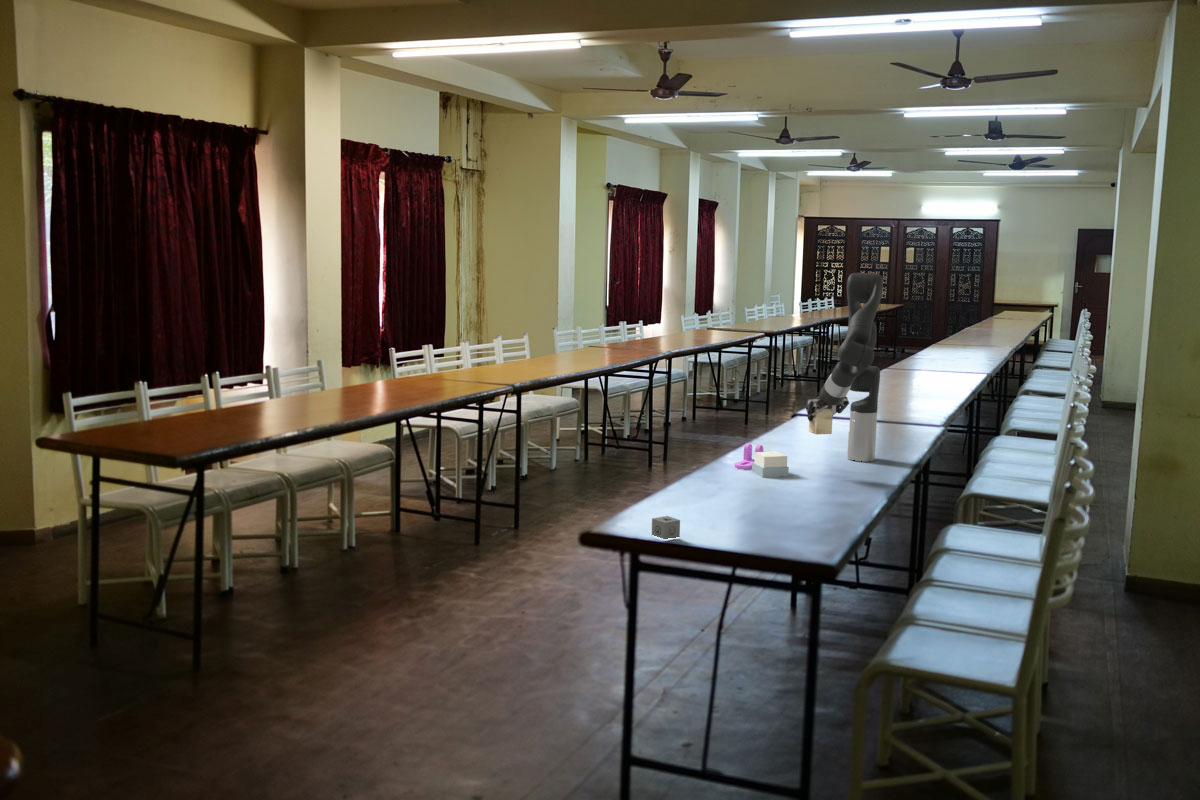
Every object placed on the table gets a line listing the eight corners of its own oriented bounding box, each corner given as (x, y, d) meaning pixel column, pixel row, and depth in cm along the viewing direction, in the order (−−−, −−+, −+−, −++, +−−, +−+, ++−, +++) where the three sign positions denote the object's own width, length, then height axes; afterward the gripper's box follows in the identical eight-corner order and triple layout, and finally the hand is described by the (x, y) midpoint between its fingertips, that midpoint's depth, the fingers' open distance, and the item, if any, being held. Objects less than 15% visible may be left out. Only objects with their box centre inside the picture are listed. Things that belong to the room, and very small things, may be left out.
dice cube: (664, 542, 261) (664, 522, 261) (651, 537, 265) (652, 518, 265) (679, 539, 264) (680, 520, 263) (666, 534, 268) (667, 515, 267)
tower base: (751, 472, 347) (752, 462, 347) (777, 471, 349) (777, 461, 349) (762, 478, 338) (762, 468, 338) (788, 477, 341) (788, 467, 340)
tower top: (754, 462, 346) (754, 452, 346) (776, 461, 348) (777, 451, 348) (764, 467, 339) (764, 456, 338) (786, 466, 341) (787, 456, 340)
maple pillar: (808, 431, 342) (810, 401, 341) (824, 430, 344) (825, 400, 342) (816, 434, 337) (817, 403, 336) (831, 433, 338) (833, 403, 337)
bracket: (747, 462, 362) (748, 442, 361) (762, 464, 359) (763, 444, 358) (731, 468, 352) (732, 448, 351) (746, 470, 349) (747, 450, 348)
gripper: (853, 377, 332) (835, 409, 345) (812, 378, 329) (794, 410, 342) (861, 396, 328) (841, 427, 341) (818, 397, 325) (800, 429, 338)
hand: (818, 418), depth 342 cm, fingers closed on maple pillar, 5 cm apart
